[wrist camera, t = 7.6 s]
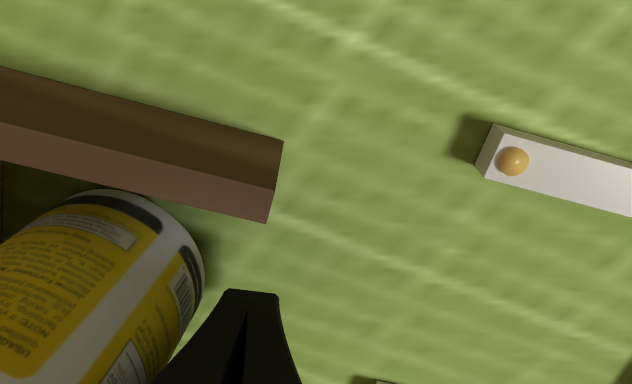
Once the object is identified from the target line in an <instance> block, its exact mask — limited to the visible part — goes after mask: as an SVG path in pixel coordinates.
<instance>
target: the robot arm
mask: <svg viewBox="0 0 632 384" xmlns="http://www.w3.org/2000/svg"><path fill="white" fill-rule="evenodd" d="M148 384H302V382H301V380H300V377H299V375H298V372H297V370H296V367H295V365H294V362H293V359H292V356H291V353H290V350H289V347H288V344H287V340H286V337H285V333H284V329H283V325H282V321H281V315H280V309H279V297H278V296H277V295H276V294H273V293H265V292H256V291H248V290H240V289H231V288H229V289H227V290H226V291H224V293H223V295H222V297H221V298H220V300H219V302H218V303H217V305H216V306H215V308H214V309H213V311H212V312H211V313H210V315H209V316H208V317H207V319H206V320H205V322H204V323H203V324H202V325H201V327H200V328H199V329H198V330H197V332H196V333H195V334H194V335H193V336H192V338H191V339H190V340H189V341H188V342H187V344H186V345H185V346H184V347H183V348H182V349H181V350H180V351H179V352H178V353H177V355H176V356H175V357H174V358H173V359H172V360H171V361H170V362H169V363H168V364H167V365H166V366H165V367H164V368H163V369H162V370H161V371H160V372H159V373H158V374H157V375H156V376H155V377H154V378H153V379H152V380H151V381H150V382H149V383H148Z"/></svg>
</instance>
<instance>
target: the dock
mask: <svg viewBox="0 0 632 384" xmlns="http://www.w3.org/2000/svg"><path fill="white" fill-rule="evenodd" d="M474 166H475V167H476V169H477V170H478V171H479V172H480V174H481V175H482V176H483V177H484V178H487V179H490V180H494V181H498V182H501V183H505V184H509V185H513V186H516V187H520V188H524V189H528V190H531V191H535V192H539V193H543V194H546V195H550V196H554V197H557V198H561V199H565V200H569V201H572V202H576V203H580V204H584V205H587V206H591V207H595V208H598V209H602V210H606V211H610V212H613V213H617V214H621V215H625V216H628V217H632V163H631V162H628V161H624V160H621V159H617V158H614V157H610V156H607V155H603V154H600V153H596V152H593V151H589V150H586V149H582V148H578V147H575V146H571V145H568V144H564V143H561V142H557V141H554V140H550V139H547V138H543V137H540V136H536V135H533V134H529V133H525V132H522V131H518V130H515V129H511V128H508V127H504V126H501V125H497V124H494V123H493V125H492V127H491V129H490V132H489V134H488V136H487V138H486V140H485V143H484V145H483V147H482V149H481V152H480V154H479V156H478V158H477V160H476V163H475V165H474ZM375 384H391V383H386V382H381V381H376V383H375Z"/></svg>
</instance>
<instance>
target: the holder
mask: <svg viewBox="0 0 632 384" xmlns="http://www.w3.org/2000/svg"><path fill="white" fill-rule="evenodd" d="M283 144H284V141H280V140H277V139H273V138H269V137H265V136H262V135H258V134H254V133H250V132H246V131H243V130H239V129H235V128H231V127H227V126H224V125H220V124H216V123H212V122H208V121H205V120H201V119H197V118H193V117H189V116H186V115H182V114H178V113H174V112H171V111H167V110H163V109H159V108H155V107H152V106H148V105H144V104H140V103H136V102H133V101H129V100H125V99H121V98H117V97H114V96H110V95H106V94H102V93H98V92H95V91H91V90H87V89H83V88H80V87H76V86H72V85H68V84H64V83H61V82H57V81H53V80H49V79H45V78H42V77H38V76H34V75H30V74H26V73H23V72H19V71H15V70H11V69H7V68H4V67H0V244H2V160H3V161H7V162H11V163H15V164H19V165H23V166H28V167H32V168H36V169H40V170H44V171H48V172H52V173H56V174H61V175H65V176H69V177H73V178H77V179H81V180H85V181H90V182H94V183H98V184H102V185H106V186H110V187H114V188H118V189H123V190H127V191H131V192H135V193H139V194H143V195H147V196H151V197H156V198H160V199H164V200H168V201H172V202H176V203H180V204H185V205H189V206H193V207H197V208H201V209H205V210H209V211H213V212H218V213H222V214H226V215H230V216H234V217H238V218H242V219H247V220H251V221H255V222H259V223H263V224H266V222H267V219H268V215H269V211H270V207H271V204H272V200H273V196H274V193H275V188H276V182H277V177H278V171H279V166H280V160H281V155H282V149H283Z"/></svg>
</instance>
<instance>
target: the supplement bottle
mask: <svg viewBox="0 0 632 384" xmlns="http://www.w3.org/2000/svg"><path fill="white" fill-rule="evenodd" d="M204 285H205V272H204V266H203V261H202V258H201V255H200V253H199V250H198V248H197V246H196V244H195V242H194V241H193V239H192V238H191V236H190V235H189V233H188V232H187V231H186V230H185V228H184V227H183V226H182V225H181V224H180V223H179V222H178V221H177V220H176V219H174V218H173V217H172V216H171V215H170V214H169V213H168V212H166V211H165V210H163V209H162V208H161V207H159V206H158V205H156V204H154V203H153V202H151V201H149V200H147V199H146V198H143V197H141V196H139V195H136V194H133V193H129V192H126V191H120V190H114V189H96V190H89V191H84V192H81V193H78V194H75V195H73V196H71V197H69V198H67V199H65V200H63V201H62V202H60V203H58V204H57V205H55V206H54V207H52V208H51V209H49V210H48V211H46V212H45V213H44V214H42V215H41V216H40V217H38V218H37V219H35V220H34V221H33V222H31V223H30V224H29V225H27V226H26V227H24V228H23V229H21V230H20V231H19V232H17V233H16V234H14V235H13V236H12V237H10V238H9V239H7V240H6V241H5V242H3V243H2V244H0V384H148V383H149V382H150V381H151V380H152V379H153V378H154V377H155V376H156V375H157V374H158V373H159V372H160V371H161V370H162V369H163V368H164V367H165V366H166V365H167V363H168V362H169V360H170V358H171V356H172V354H173V352H174V350H175V348H176V347H177V345H178V343H179V342H180V340H181V338H182V336H183V334H184V332H185V330H186V328H187V326H188V324H189V323H190V321H191V319H192V318H193V316H194V314H195V312H196V310H197V308H198V306H199V304H200V302H201V299H202V296H203V292H204Z"/></svg>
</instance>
